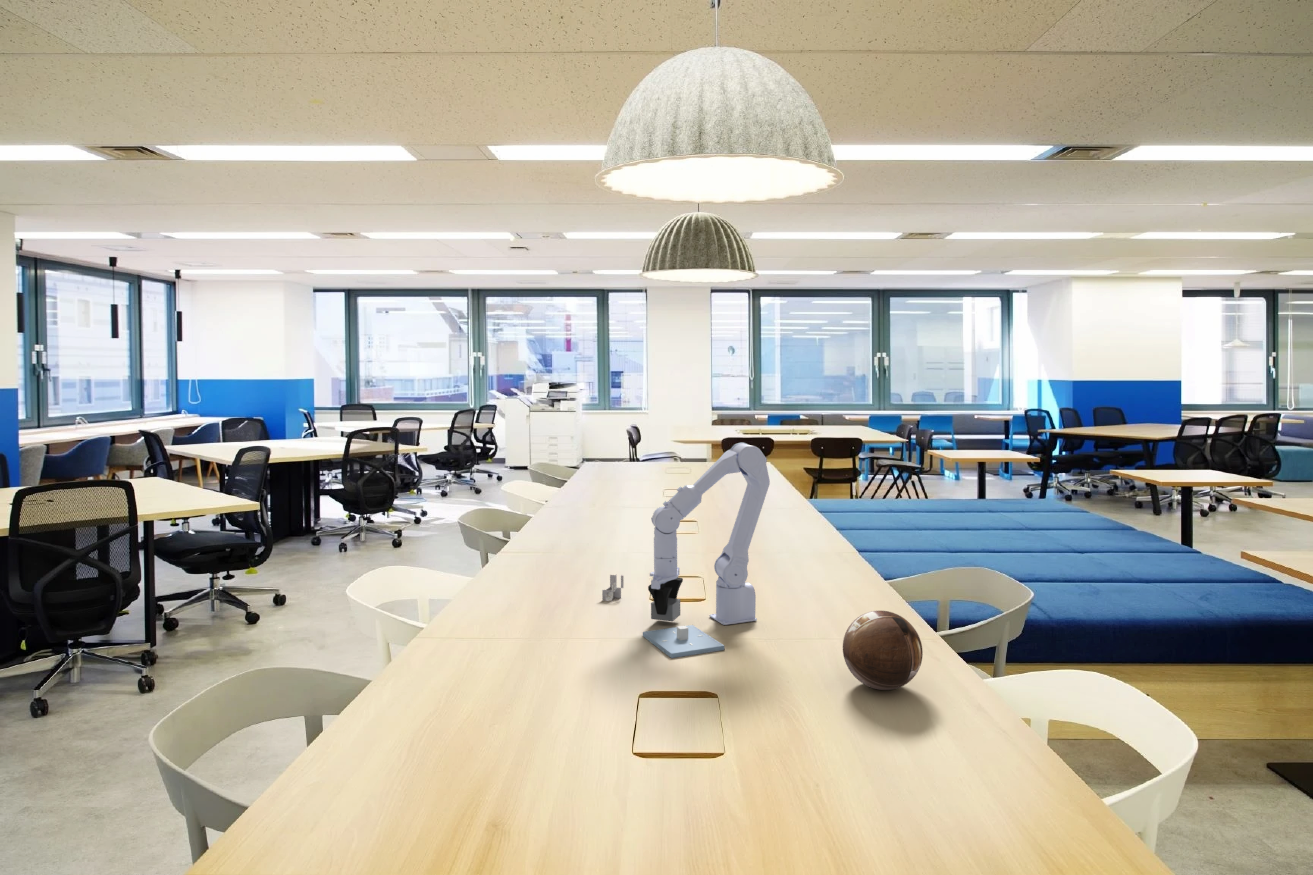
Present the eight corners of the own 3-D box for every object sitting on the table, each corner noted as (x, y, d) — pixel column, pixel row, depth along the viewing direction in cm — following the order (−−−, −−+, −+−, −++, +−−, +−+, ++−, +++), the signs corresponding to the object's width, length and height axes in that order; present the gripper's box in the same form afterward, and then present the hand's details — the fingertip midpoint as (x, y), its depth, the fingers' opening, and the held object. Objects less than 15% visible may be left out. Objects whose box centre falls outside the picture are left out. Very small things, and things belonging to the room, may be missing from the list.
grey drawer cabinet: (659, 612, 201) (659, 595, 201) (680, 614, 199) (680, 597, 199) (651, 619, 196) (650, 601, 196) (672, 621, 194) (672, 604, 194)
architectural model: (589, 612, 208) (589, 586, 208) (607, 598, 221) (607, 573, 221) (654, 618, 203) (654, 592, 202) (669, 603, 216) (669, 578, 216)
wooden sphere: (826, 679, 161) (828, 606, 160) (886, 668, 167) (888, 598, 166) (874, 708, 147) (876, 628, 146) (938, 695, 153) (940, 618, 152)
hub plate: (692, 629, 193) (692, 614, 193) (724, 649, 178) (724, 634, 178) (642, 636, 188) (642, 620, 187) (671, 658, 173) (671, 641, 173)
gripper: (660, 548, 205) (661, 601, 206) (639, 561, 191) (639, 617, 192) (687, 550, 202) (687, 603, 203) (666, 563, 189) (667, 620, 190)
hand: (665, 610), depth 198 cm, fingers closed on grey drawer cabinet, 6 cm apart
